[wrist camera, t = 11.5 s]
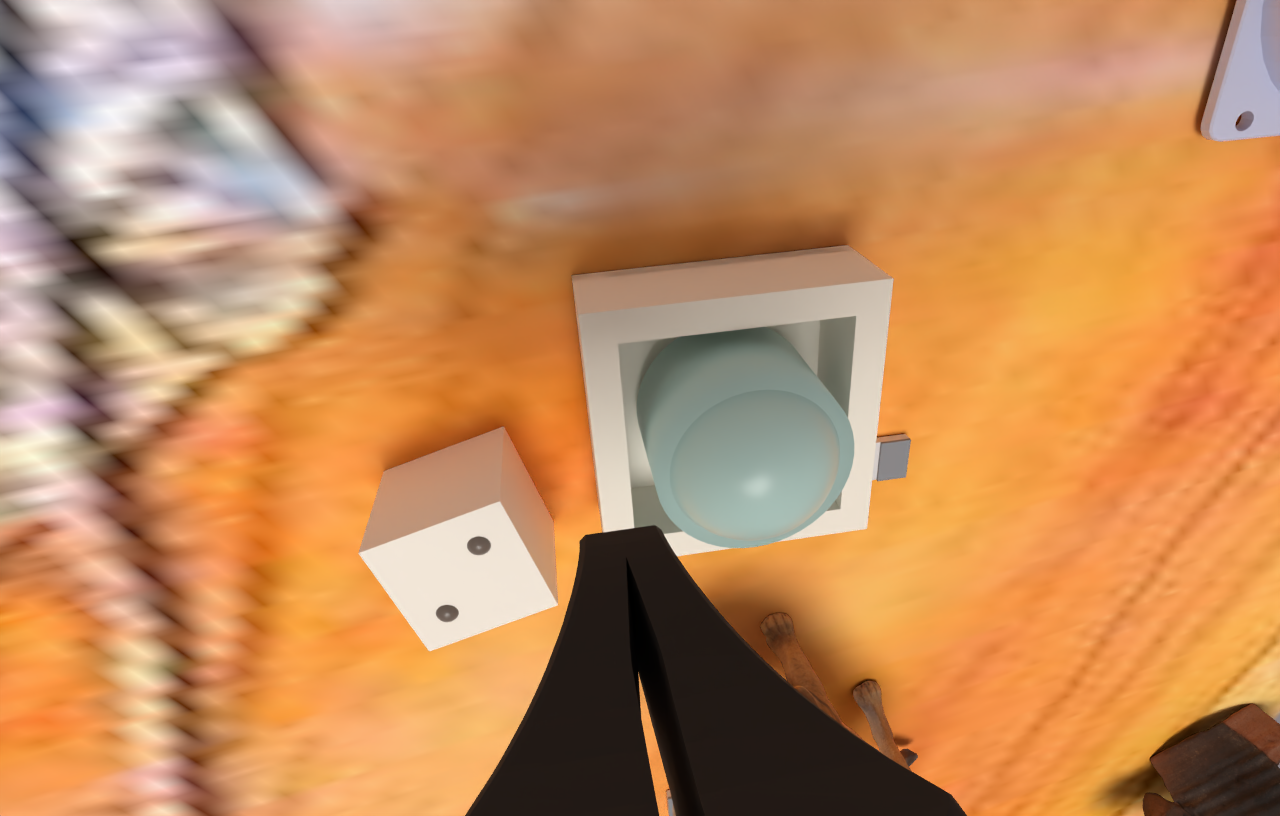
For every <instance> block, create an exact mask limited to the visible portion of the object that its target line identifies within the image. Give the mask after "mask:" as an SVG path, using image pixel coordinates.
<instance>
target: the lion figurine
mask: <svg viewBox="0 0 1280 816" xmlns="http://www.w3.org/2000/svg"><path fill="white" fill-rule="evenodd" d="M760 628H761V630H762V632H763V634H764V635H765V636H766V641H767V644H768V646H769V647H770V648H771V649H772V651H773V652H774V653H775V654H776V655H777V657H778V658H779V659H780V661H781V663H782V665H783V668H784V671H785V675H786V679H787V682H789V683H790V684H791V685H792V686H793V687H794V688H795V689H797V690H798V691H799V692H800V693H801V694H802V695H804V696H805V697H806V698H807V699H808V700H810V701H811V702H812V703H814V704H815V705H816V706H818V707H819V708H820V709H822V710H823V711H824V712H825V713H827V714H828V715H829V716H831V717H832V718H833V719H835V720H836V721H837V722H839V723H840V724H841V725H843V726H844V727H845V728H847V729H848V730H849V731H850V732H852V733H853V734H854V735H856V736H857V737H859V738H860V739H862V738H861V737H860V736H859V735H858V734H857V733H855V732H854V731H853V730H852V729H851V728H849V727H848V726H846V725H845V724H843V723H842V721H841V719H840V717H839V715H838V713H837V712H836V710H835V709H834V707H833V706H832V704H831V703H830V701H829V699H828V697H827V695H826V692H825V689H824V687H823V685H822V683H821V681H820V680H819V678H818V676H817V675H816V673H815V672H814V671H813V669H812V667H811V665H810V663H809V661H808V659H807V658H806V656H805V655H804V653H803V652H802V650H801V648H800V646H799V644H798V641H797V639H796V636H795V633H794V629H793V623H792V620H791V618H790V617H789V616H788V615H787V614H785V613H775V614H772V615H769V616H768V617H766V618H765V620H764V621H763V622H762V623H761V625H760ZM853 696H854V699H855V701H856V702H857V704H858V705H859V706H860V707H861V709H862V710H863V712H864V714H865V715H866V718H867V720H868V722H869V725H870V727H871V731H872V735H873V738H874V740H875V742H876V743H877V745H878V747H879V750H880V752H881V753H882V754H884V755H885V756H887V757H888V758H890V759H891V760H893V761H895V762H896V763H898V764H899V765H901V766H903V767H905V768H906V769H908V770H910V768H909V766H910V765H911V764H912V763H913V762H914V761H915V760H916V759H917V758H918V755H917V754H916V753H914V752H912V751H910V750H909V749H903V750H901V751H899V749H898V747H897V745H896V744H895V742H894V740H893V734H892V731H891V728H890V726H889V724H888V721H887V719H886V716H885V714H884V710H883V707H882V701H881V689H880V687H879V685H878V684H877V683H876V682H874V681H866V682H864V683H862V684H861V685H859V686H858V687H856V688H855V689H854V692H853ZM862 740H863V739H862ZM863 741H864V740H863ZM910 771H911V770H910ZM672 810H673V816H676V815H675V810H674V806H673V809H672Z"/></svg>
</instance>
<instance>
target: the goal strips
mask: <svg viewBox="0 0 1280 816" xmlns="http://www.w3.org/2000/svg"><path fill="white" fill-rule="evenodd" d="M910 442H911V440H910V438H909V437H908V436H907V435H906V434H900V435H893V436H885V437H878V438H876V448H875V457H874V467H873V476H872V480H877V481H882V480H889V479H897V478H904V477H906V472H907V464H908V457H909V449H910ZM667 801H668V812H669V816H673V810H672V809H673V802H672V797H671V793H670V790H667Z"/></svg>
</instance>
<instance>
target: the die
mask: <svg viewBox="0 0 1280 816" xmlns="http://www.w3.org/2000/svg"><path fill="white" fill-rule="evenodd" d="M359 555H360V556H361V557H362V559H363V560H364V562H365V563H366V564H367V566H368V567H369V568H370V570H371V571H372V573H373V574H374V575H375V577H376V578H377V580H378V581H379V582H380V584H381V585H382V586H383V588H384V589H385V591H386V592H387V593H388V595H389V596H390V598H391V599H392V600H393V602H394V603H395V604H396V606H397V607H398V609H399V610H400V611H401V613H402V614H403V616H404V617H405V618H406V620H407V621H408V623H409V624H410V625H411V627H412V628H413V629H414V631H415V632H416V634H417V635H418V636H419V638H420V639H421V641H422V642H423V643H424V645H425V646H426V647H427V649H428V650H429V651H432V650H435V649H437V648H440V647H443V646H446V645H449V644H451V643H454V642H457V641H460V640H462V639H465V638H468V637H471V636H474V635H476V634H479V633H482V632H485V631H487V630H490V629H493V628H496V627H499V626H501V625H504V624H507V623H510V622H512V621H515V620H518V619H521V618H524V617H526V616H529V615H532V614H535V613H537V612H540V611H543V610H546V609H549V608H551V607H554V606H557V605H558V594H557V575H556V556H555V538H554V521H553V519H552V517H551V516H550V514H549V512H548V510H547V508H546V506H545V504H544V502H543V500H542V498H541V496H540V494H539V493H538V491H537V489H536V487H535V485H534V483H533V481H532V479H531V477H530V475H529V473H528V471H527V469H526V468H525V466H524V464H523V462H522V460H521V458H520V456H519V454H518V452H517V450H516V448H515V446H514V445H513V443H512V441H511V439H510V437H509V435H508V433H507V431H506V429H505V427H504V426H503V427H501V428H498V429H495V430H492V431H490V432H487V433H484V434H482V435H479V436H476V437H474V438H471V439H468V440H466V441H463V442H460V443H458V444H455V445H452V446H450V447H447V448H444V449H442V450H439V451H436V452H434V453H431V454H428V455H425V456H423V457H420V458H417V459H415V460H412V461H409V462H407V463H404V464H401V465H399V466H396V467H393V468H391V469H388V470H385V471H384V472H383V475H382V478H381V482H380V485H379V488H378V491H377V495H376V498H375V501H374V504H373V508H372V511H371V514H370V518H369V521H368V524H367V527H366V531H365V534H364V537H363V540H362V544H361V547H360V550H359Z"/></svg>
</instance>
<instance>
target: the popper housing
mask: <svg viewBox="0 0 1280 816" xmlns="http://www.w3.org/2000/svg"><path fill="white" fill-rule="evenodd" d="M572 284H573V292H574V301H575V309H576V318H577V326H578V335H579V343H580V352H581V360H582V369H583V377H584V386H585V394H586V403H587V411H588V420H589V428H590V437H591V445H592V454H593V462H594V471H595V479H596V488H597V496H598V505H599V512H600V519H601V526H602V532H610V531H617V530H624V529H631V528H638V527H644V526H651V525H656V526H657V527H659V528H660V529H661V530H662V532H663V534H664V536H665V538H666V539H667V541H668V543H669V545H670V546H671V548H672V550H673V551H674V553H675V554H676V556H682V555H689V554H696V553H703V552H710V551H717V550H723V549H730V548H728V547H720V546H715V545H711V544H707V543H705V542H702V541H700V540H697V539H695V538H693V537H691V536H690V535H688V534H686V533H685V532H684V531H682V530H681V529H680V528H678V527H677V526H676V525H675V524H674V523H673V522H672V521H671V519H670V518H669V517H668V515H667V514H666V513H665V511H664V509H663V507H662V505H661V503H660V501H659V497H658V494H657V491H656V487H655V484H654V480H653V476H652V473H651V469H650V465H649V462H648V458H647V454H646V450H645V447H644V443H643V439H642V436H641V432H640V428H639V425H638V419H637V398H638V392H639V389H640V385H641V382H642V380H643V378H644V375H645V373H646V371H647V370H648V368H649V366H650V365H651V363H652V362H653V361H654V359H655V358H656V357H657V356H658V354H659V353H660V352H661V351H662V350H663V349H664V348H666V347H667V346H668V345H669V344H670V343H672V342H673V341H674V340H675V339H677V338H678V337H681V336H690V335H698V334H707V333H715V332H724V331H732V330H741V329H749V328H758V327H767V328H769V329H771V330H773V331H775V332H777V333H778V334H780V335H781V336H783V337H784V338H785V339H786V340H787V341H788V342H789V343H790V344H791V345H793V347H794V348H795V349H796V350H797V352H798V353H799V354H800V355H801V357H802V358H803V359H804V361H805V362H806V363H807V364H808V366H809V367H810V368H811V369H812V371H813V372H814V373H815V374H816V376H817V377H818V378H819V380H820V381H821V382H822V383H823V385H824V386H825V387H826V388H827V390H828V391H829V392H830V393H831V395H832V396H833V397H834V398H835V400H836V401H837V402H838V404H839V405H840V406H841V408H842V409H843V410H844V412H845V414H846V416H847V418H848V420H849V422H850V425H851V428H852V431H853V437H854V459H853V465H852V468H851V471H850V475H849V477H848V480H847V482H846V484H845V486H844V488H843V490H842V491H841V493H840V494H839V496H838V497H837V499H836V500H835V501H834V503H833V504H832V505H831V506H830V507H829V508H828V509H827V510H826V511H825V513H824V514H823V515H822V516H820V517H819V518H818V519H817V520H815V521H814V522H813V523H812V524H810V525H809V526H807V527H806V528H804V529H803V530H801V531H799V532H797V533H796V534H794V535H792V536H790V537H787V538H785V539H782V540H780V541H786V540H793V539H800V538H806V537H813V536H820V535H827V534H834V533H841V532H848V531H855V530H862V529H867V523H868V514H869V504H870V495H871V486H872V476H873V467H874V457H875V448H876V438H877V429H878V420H879V410H880V401H881V391H882V382H883V373H884V363H885V354H886V344H887V335H888V326H889V316H890V307H891V297H892V288H893V278H892V277H891V276H889V275H888V274H887V273H885V272H884V271H883V270H881V269H880V268H878V267H877V266H876V265H874V264H873V263H872V262H870V261H869V260H868V259H866V258H865V257H864V256H862V255H861V254H859V253H858V252H857V251H855V250H854V249H853V248H851V247H850V246H849V245H844V246H835V247H826V248H817V249H807V250H798V251H789V252H780V253H771V254H762V255H753V256H744V257H734V258H725V259H716V260H707V261H698V262H689V263H680V264H670V265H661V266H652V267H643V268H634V269H625V270H616V271H606V272H597V273H588V274H579V275H572ZM777 542H779V541H777Z"/></svg>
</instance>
